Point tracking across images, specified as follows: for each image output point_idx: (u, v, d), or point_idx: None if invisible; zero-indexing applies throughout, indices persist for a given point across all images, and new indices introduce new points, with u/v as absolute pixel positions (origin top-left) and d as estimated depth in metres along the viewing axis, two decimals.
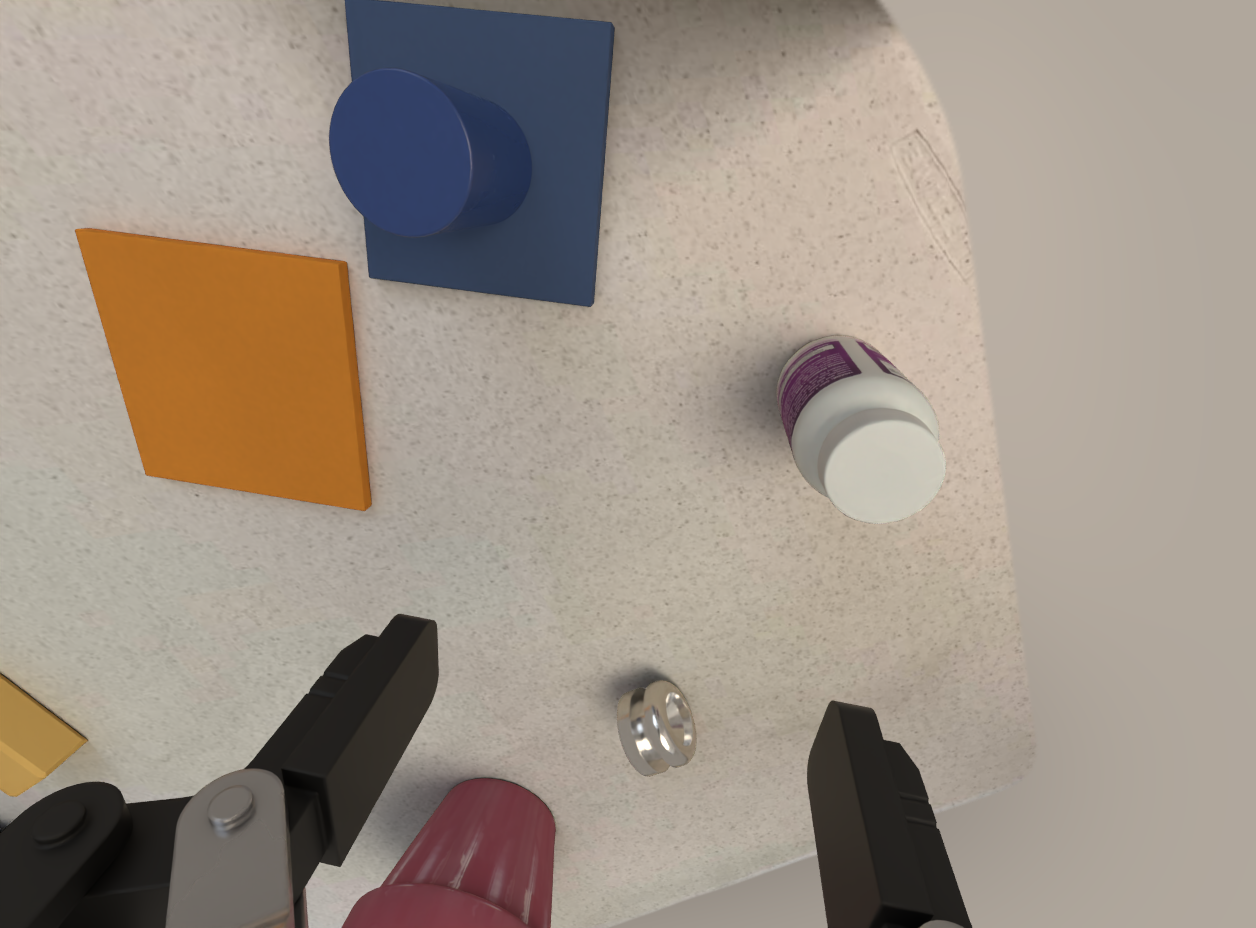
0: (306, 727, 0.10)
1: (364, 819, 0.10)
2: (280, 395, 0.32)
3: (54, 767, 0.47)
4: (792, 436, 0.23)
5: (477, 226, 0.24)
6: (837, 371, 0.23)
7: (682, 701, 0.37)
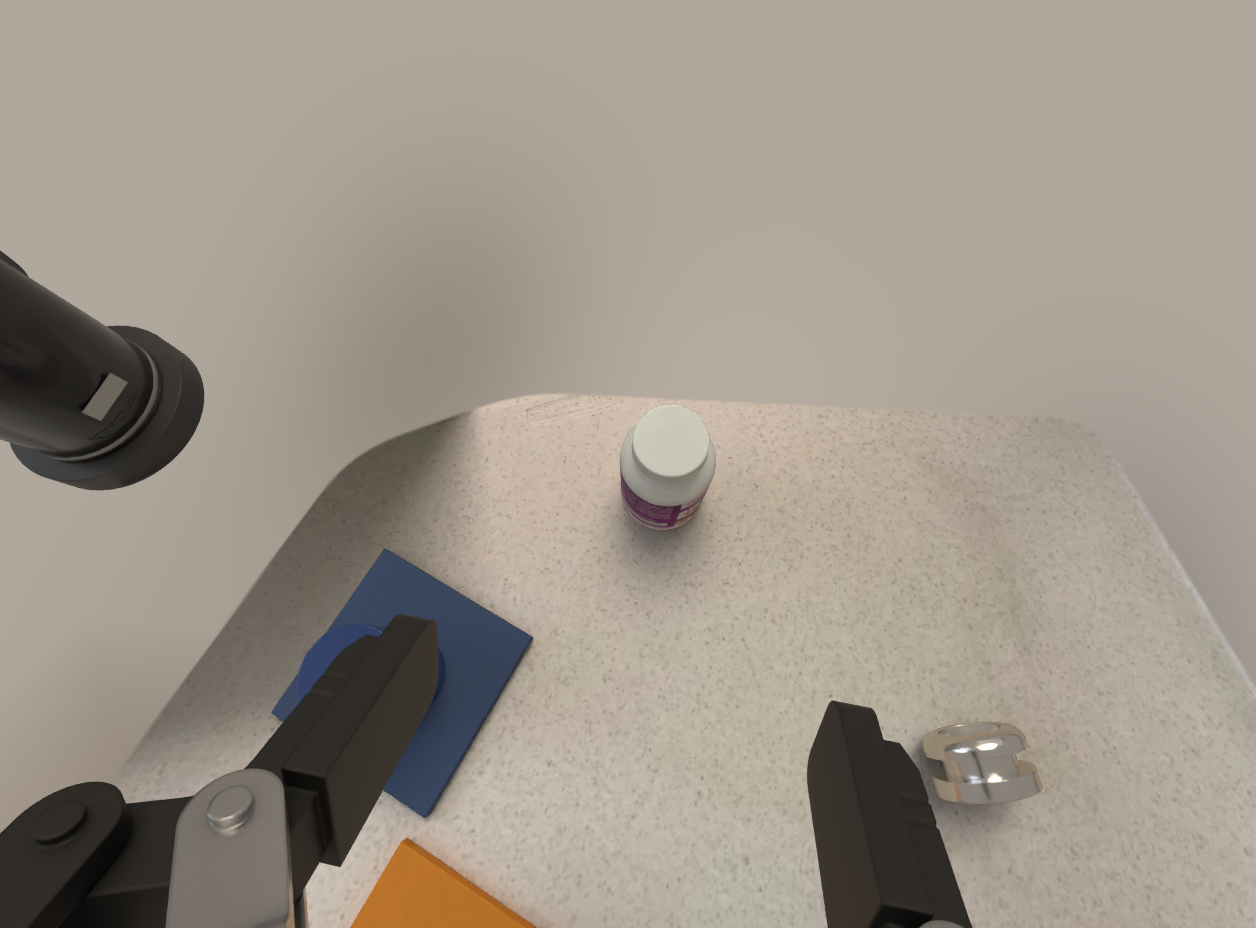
0: (306, 727, 0.10)
1: (364, 819, 0.10)
2: None
3: None
4: (648, 502, 0.32)
5: None
6: None
7: (958, 725, 0.33)
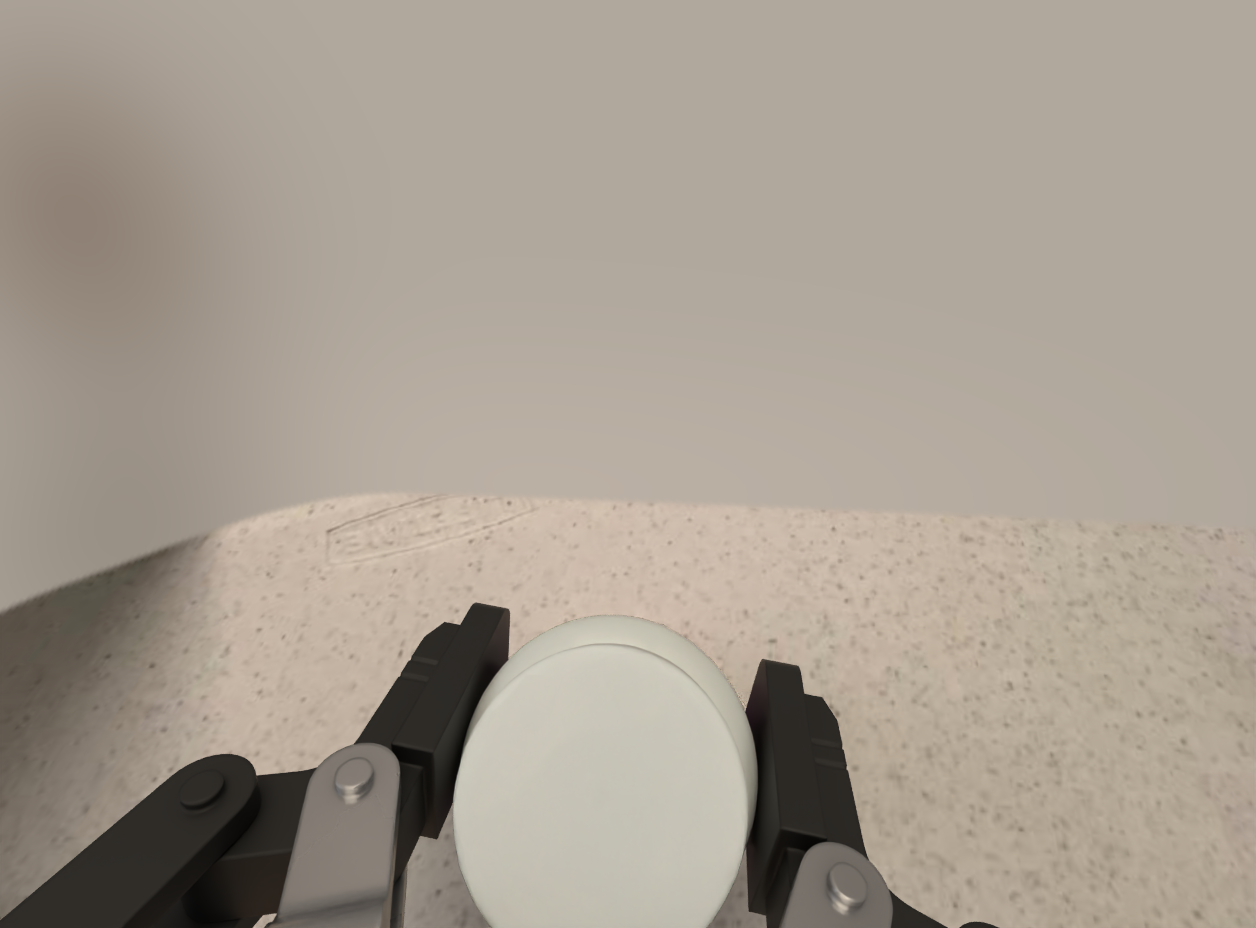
0: (403, 708, 0.10)
1: None
2: None
3: None
4: None
5: None
6: None
7: None
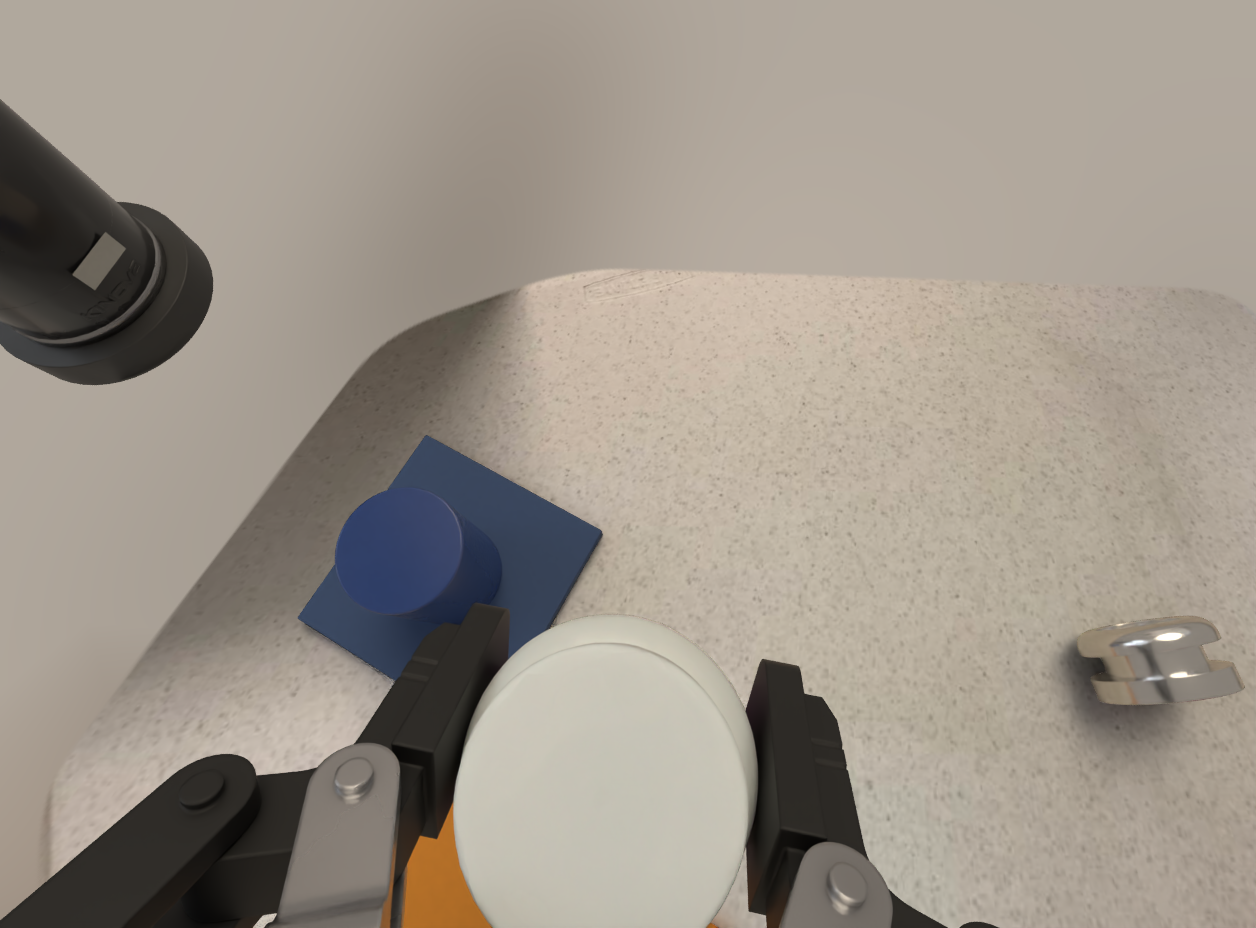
0: (403, 708, 0.10)
1: None
2: None
3: None
4: None
5: (488, 570, 0.27)
6: None
7: (1116, 625, 0.28)
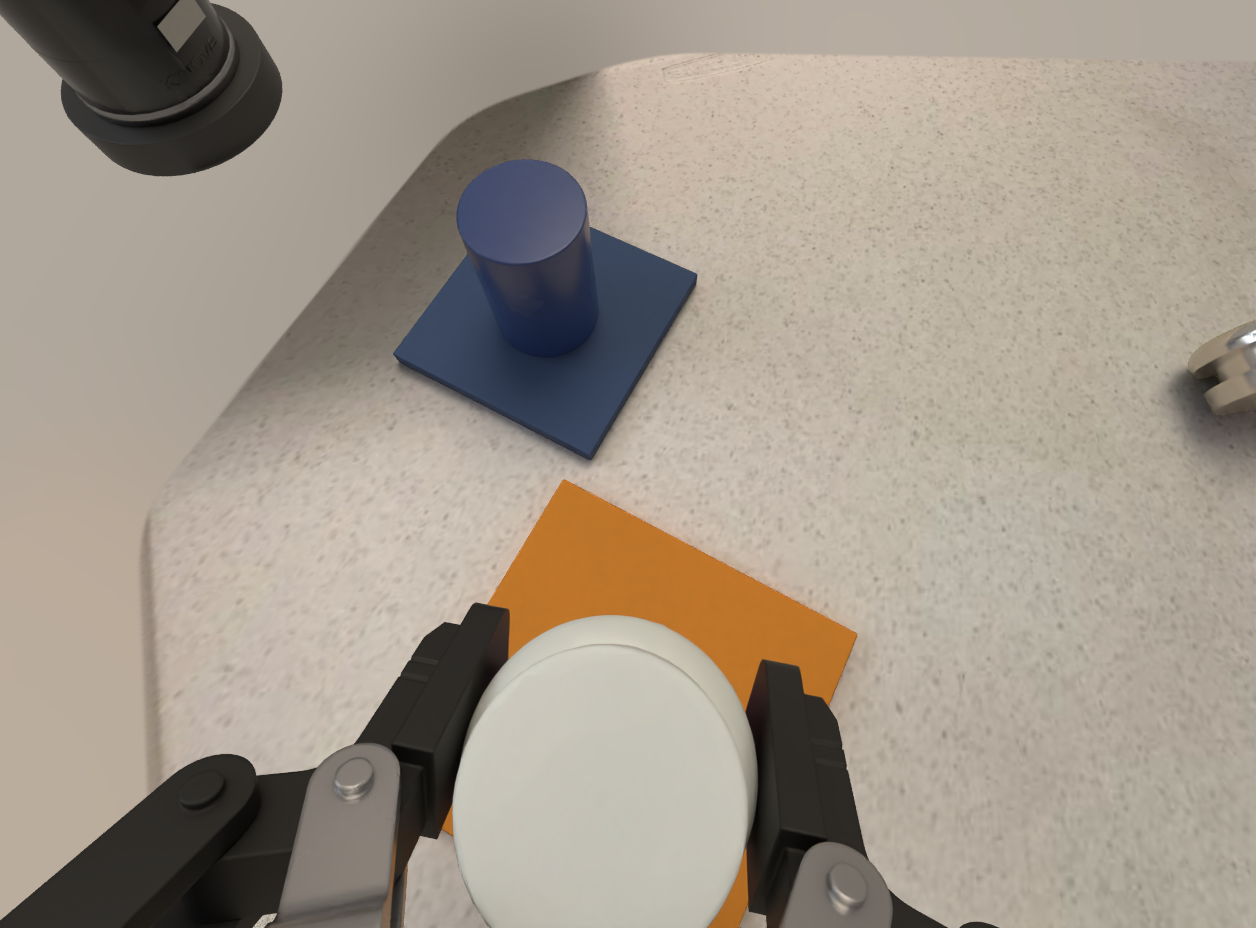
0: (403, 707, 0.10)
1: None
2: None
3: None
4: None
5: (594, 283, 0.26)
6: None
7: None
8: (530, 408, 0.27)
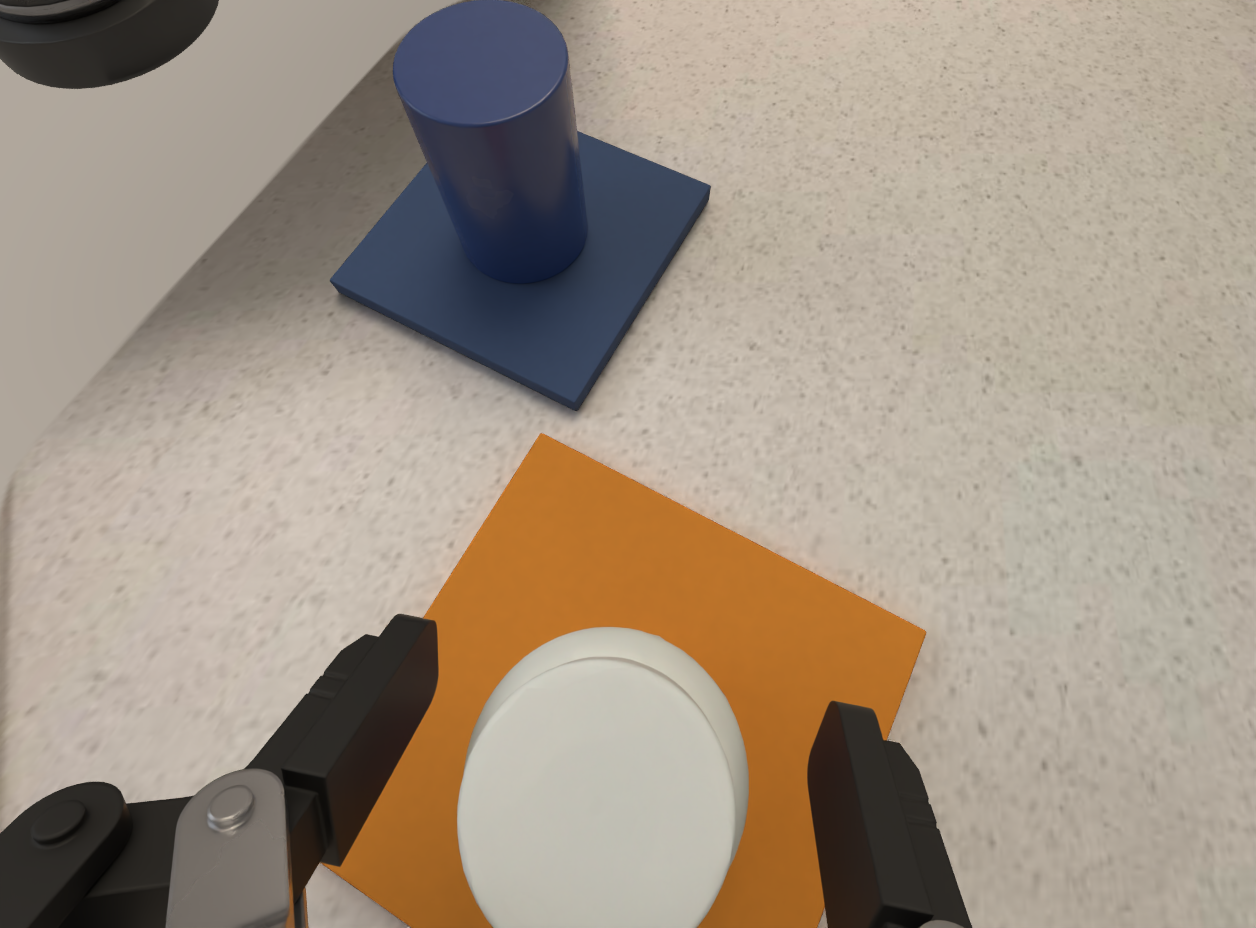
0: (305, 727, 0.10)
1: (364, 819, 0.10)
2: None
3: None
4: None
5: (581, 182, 0.21)
6: None
7: None
8: (500, 345, 0.22)
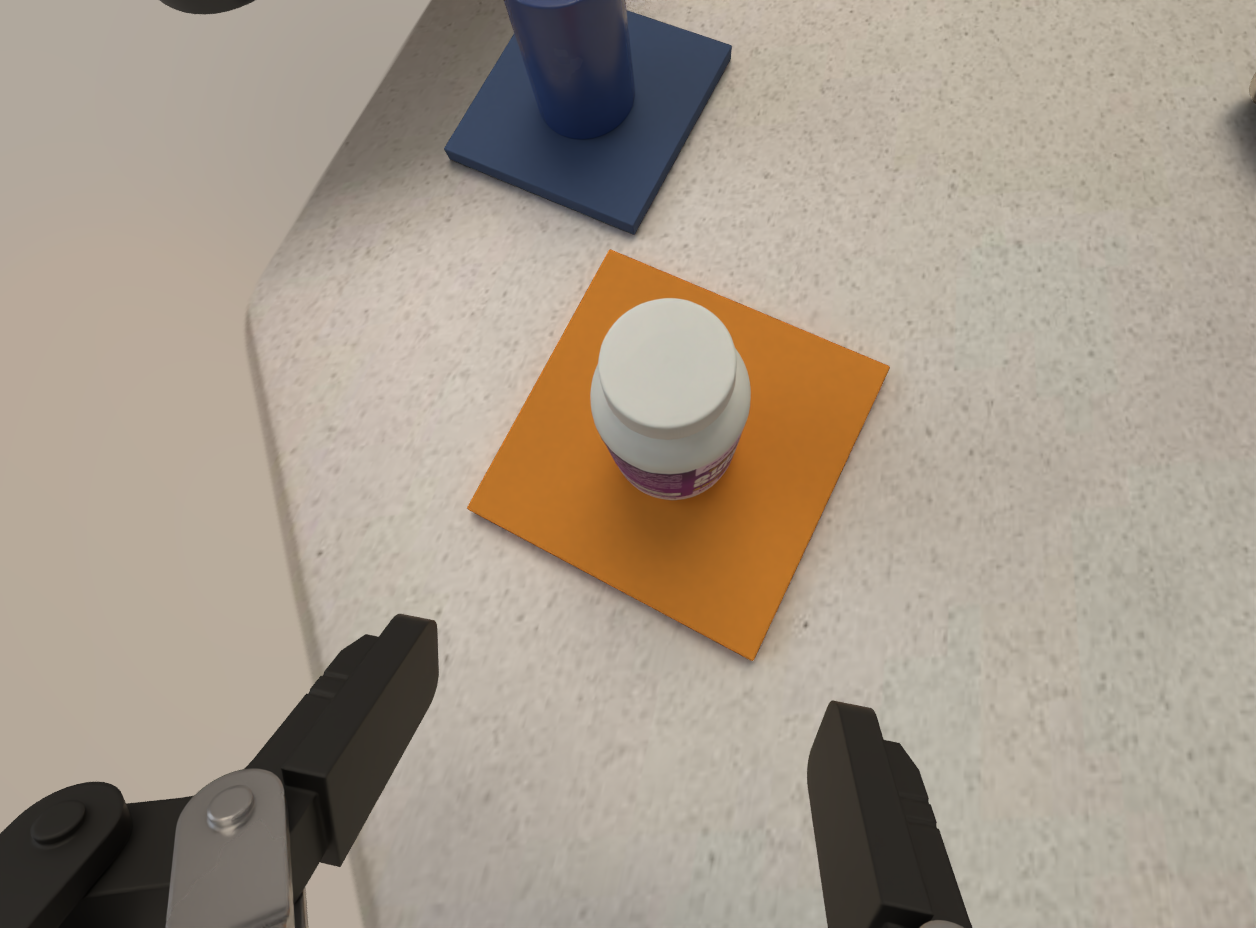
0: (306, 727, 0.10)
1: (364, 819, 0.10)
2: None
3: None
4: (640, 468, 0.19)
5: (630, 49, 0.27)
6: None
7: None
8: (575, 187, 0.29)
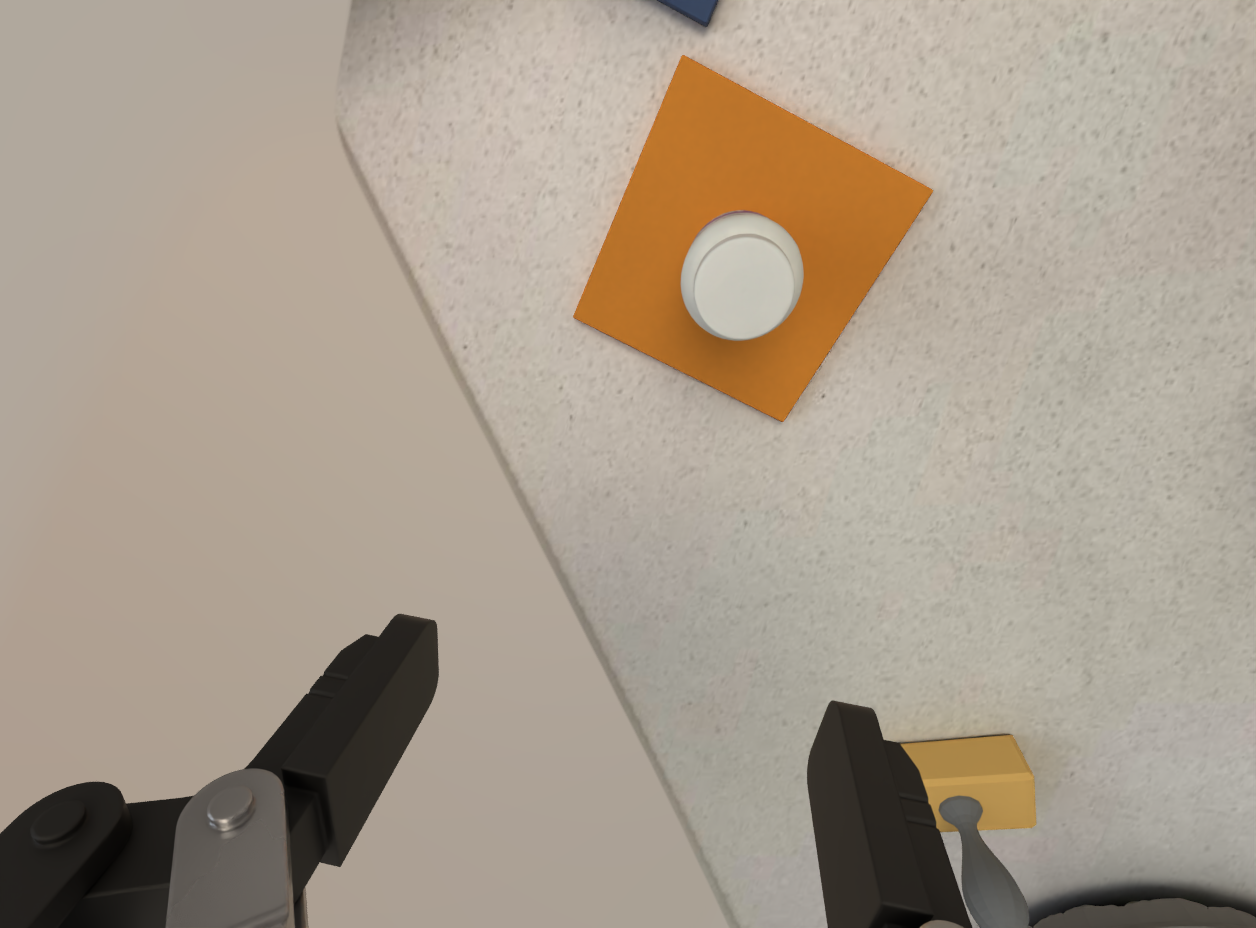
0: (306, 727, 0.10)
1: (364, 819, 0.10)
2: (772, 211, 0.31)
3: (1026, 765, 0.42)
4: (716, 336, 0.27)
5: None
6: None
7: None
8: None
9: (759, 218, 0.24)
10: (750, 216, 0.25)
